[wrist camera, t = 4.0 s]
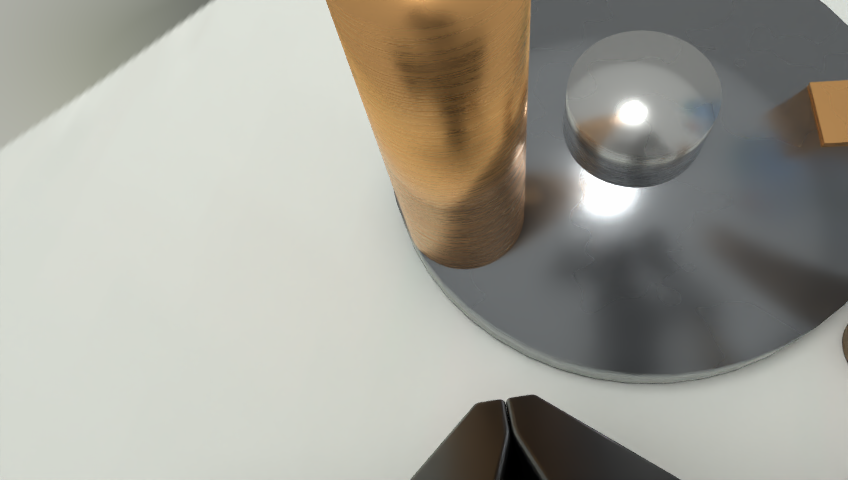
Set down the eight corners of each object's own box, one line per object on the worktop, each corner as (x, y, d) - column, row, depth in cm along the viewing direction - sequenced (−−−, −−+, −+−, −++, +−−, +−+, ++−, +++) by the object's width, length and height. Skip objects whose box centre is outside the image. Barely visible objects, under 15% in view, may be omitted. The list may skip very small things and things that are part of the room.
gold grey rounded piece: (1000, 32, 19) (1470, -444, 10) (952, 501, 15) (1694, 461, 6) (480, -65, 23) (455, -478, 13) (324, 290, 19) (131, 51, 9)
